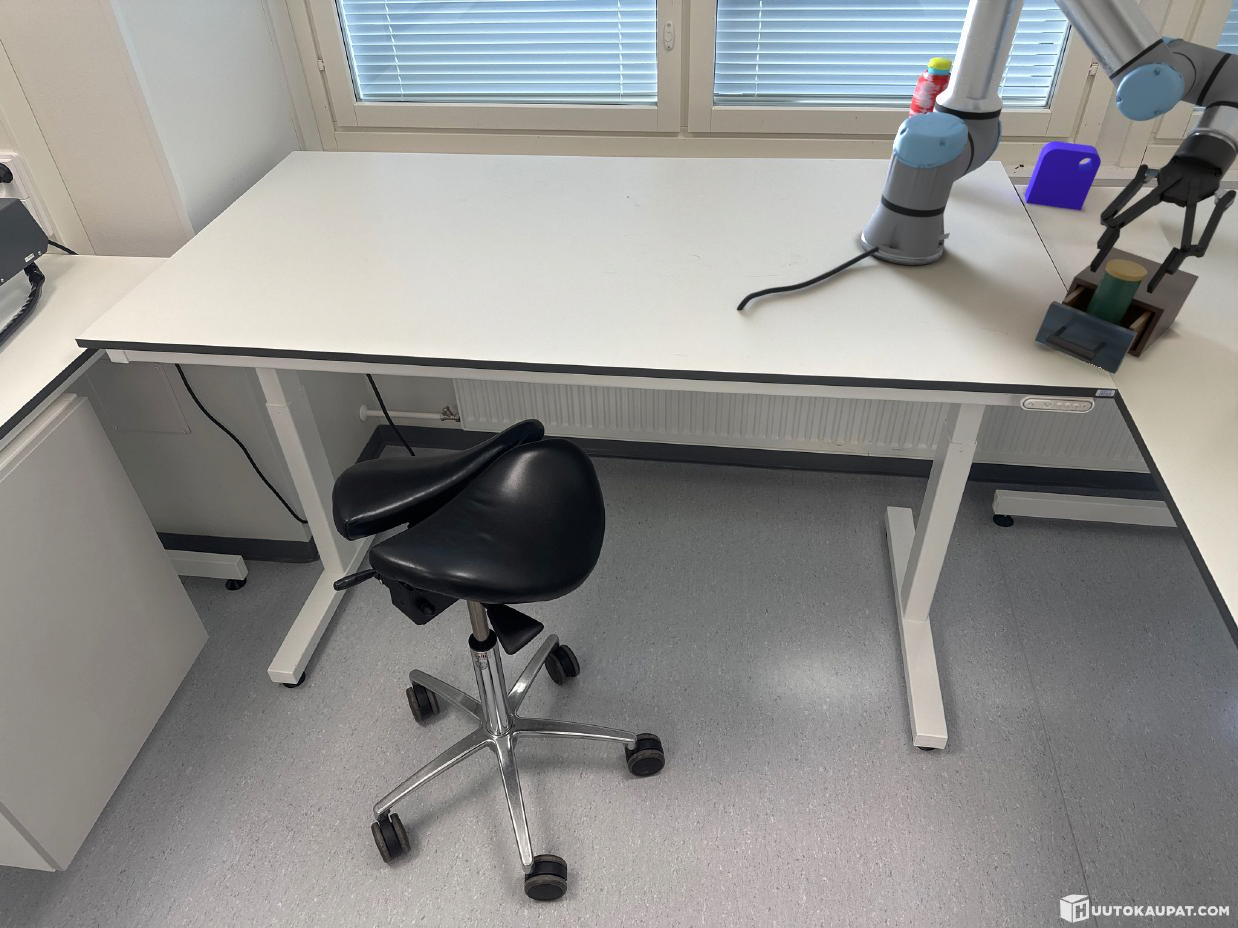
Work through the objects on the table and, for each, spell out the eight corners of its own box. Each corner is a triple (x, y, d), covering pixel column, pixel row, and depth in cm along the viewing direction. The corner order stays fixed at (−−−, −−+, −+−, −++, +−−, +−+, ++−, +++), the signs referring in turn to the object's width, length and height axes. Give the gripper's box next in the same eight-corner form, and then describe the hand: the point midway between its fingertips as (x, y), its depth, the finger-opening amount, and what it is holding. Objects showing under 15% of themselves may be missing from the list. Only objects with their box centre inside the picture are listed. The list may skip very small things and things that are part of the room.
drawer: (1099, 389, 119) (1119, 350, 115) (1018, 353, 126) (1034, 315, 121) (1149, 339, 130) (1169, 302, 125) (1072, 309, 137) (1088, 272, 132)
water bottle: (885, 165, 186) (914, 48, 169) (920, 167, 185) (952, 49, 169) (894, 186, 177) (926, 64, 160) (931, 188, 176) (966, 66, 160)
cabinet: (1138, 358, 127) (1164, 310, 122) (1053, 323, 135) (1074, 276, 129) (1172, 323, 136) (1199, 276, 130) (1091, 292, 143) (1112, 246, 137)
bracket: (1080, 210, 169) (1104, 154, 162) (1026, 203, 172) (1047, 147, 164) (1070, 179, 182) (1092, 125, 175) (1020, 172, 185) (1039, 119, 177)
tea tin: (1089, 346, 126) (1123, 278, 118) (1068, 328, 130) (1099, 260, 122) (1120, 343, 127) (1155, 275, 119) (1097, 325, 131) (1130, 257, 123)
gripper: (1283, 181, 118) (1190, 314, 120) (1138, 141, 129) (1055, 264, 131) (1294, 154, 111) (1195, 295, 114) (1141, 114, 122) (1053, 243, 124)
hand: (1120, 278), depth 122 cm, fingers open, 8 cm apart
